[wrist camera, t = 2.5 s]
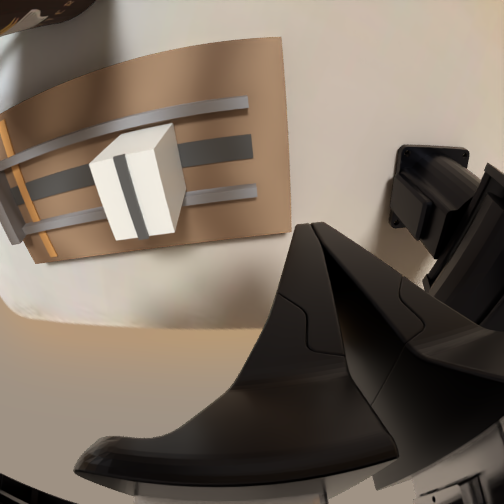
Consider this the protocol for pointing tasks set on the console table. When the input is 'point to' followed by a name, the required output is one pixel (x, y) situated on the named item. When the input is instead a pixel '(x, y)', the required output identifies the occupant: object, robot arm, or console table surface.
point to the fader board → (144, 116)
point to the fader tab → (141, 182)
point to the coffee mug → (37, 13)
